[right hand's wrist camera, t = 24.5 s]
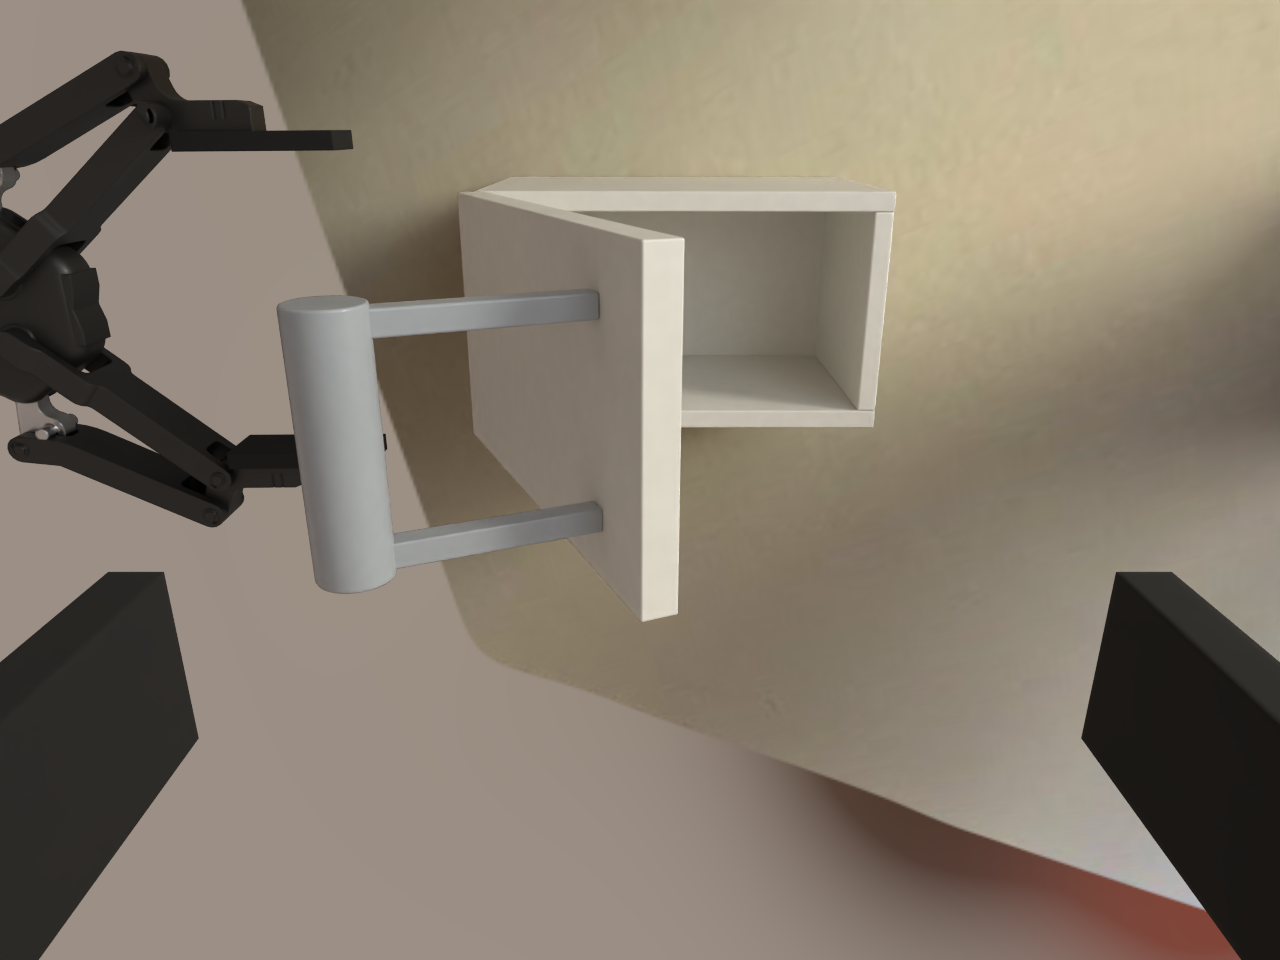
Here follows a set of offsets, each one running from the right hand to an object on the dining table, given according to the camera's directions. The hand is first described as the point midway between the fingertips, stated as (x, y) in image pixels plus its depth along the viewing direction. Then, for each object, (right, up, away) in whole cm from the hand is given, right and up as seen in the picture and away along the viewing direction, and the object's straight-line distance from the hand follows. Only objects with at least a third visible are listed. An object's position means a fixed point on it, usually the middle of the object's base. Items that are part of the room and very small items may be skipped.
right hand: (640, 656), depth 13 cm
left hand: (-12, +10, +27) cm, 32 cm away
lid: (-2, +6, +16) cm, 18 cm away
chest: (+2, +13, +34) cm, 36 cm away
